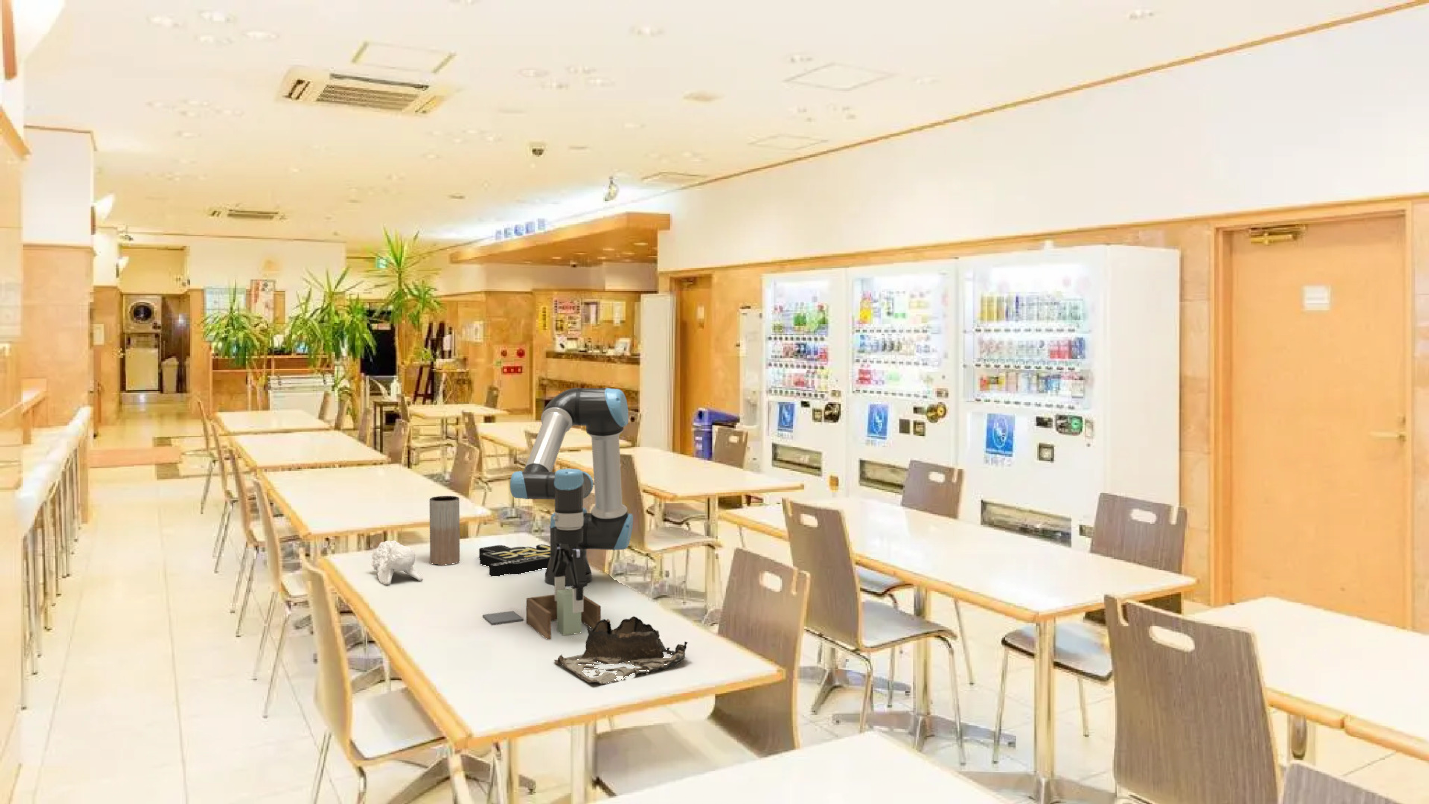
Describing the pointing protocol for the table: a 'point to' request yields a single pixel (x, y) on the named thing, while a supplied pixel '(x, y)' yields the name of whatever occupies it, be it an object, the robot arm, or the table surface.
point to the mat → (503, 617)
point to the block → (567, 613)
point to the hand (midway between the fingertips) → (568, 606)
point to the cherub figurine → (393, 561)
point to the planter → (444, 530)
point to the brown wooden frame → (545, 611)
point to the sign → (514, 559)
